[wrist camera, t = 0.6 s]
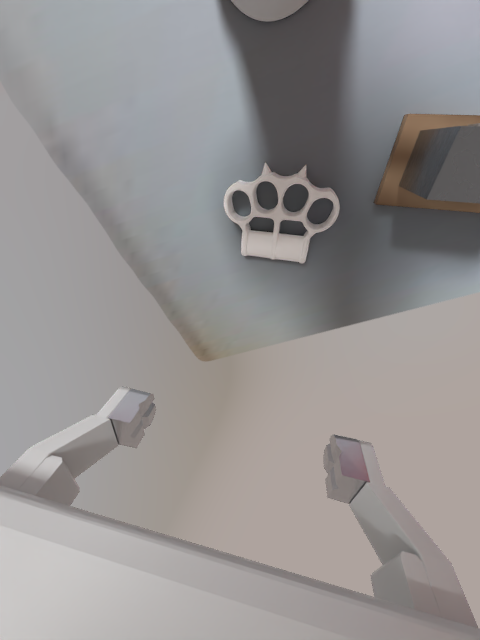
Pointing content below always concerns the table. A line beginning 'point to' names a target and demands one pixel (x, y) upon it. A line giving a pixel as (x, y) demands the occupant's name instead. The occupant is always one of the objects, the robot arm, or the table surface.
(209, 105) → the table surface
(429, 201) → the board
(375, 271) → the table surface
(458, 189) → the panel
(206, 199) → the table surface
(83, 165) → the table surface
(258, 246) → the white brass knuckles
